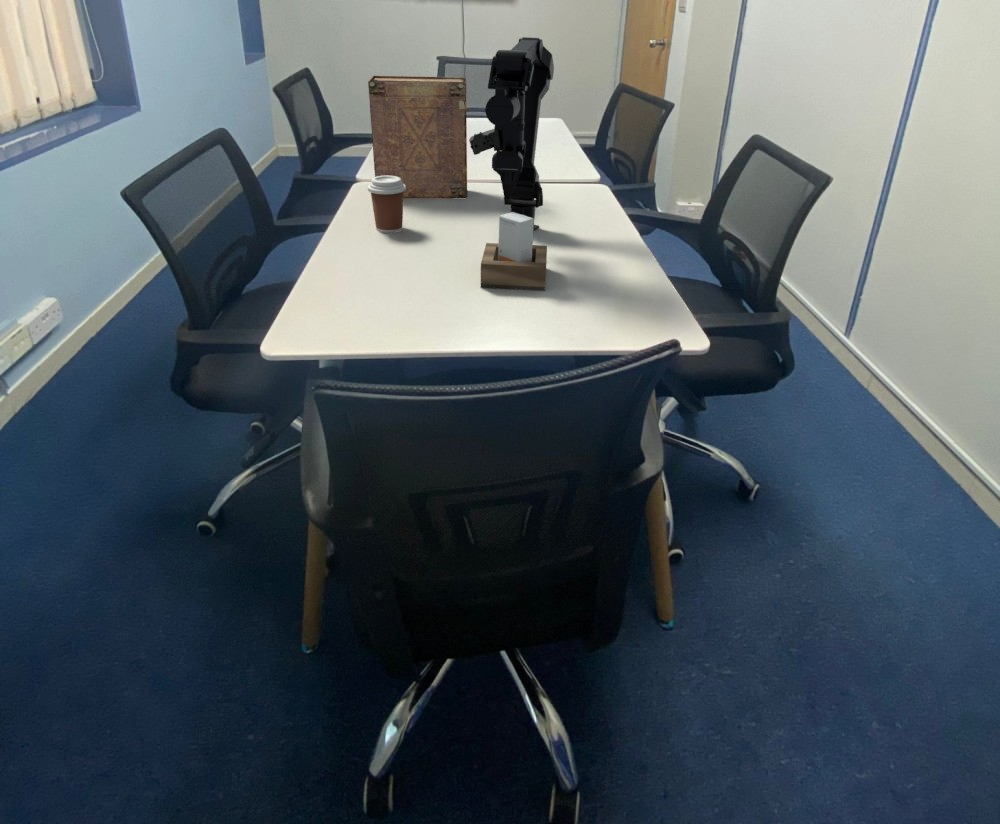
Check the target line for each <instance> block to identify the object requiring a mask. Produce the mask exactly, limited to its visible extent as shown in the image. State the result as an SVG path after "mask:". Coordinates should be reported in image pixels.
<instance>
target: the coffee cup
mask: <svg viewBox="0 0 1000 824" xmlns="http://www.w3.org/2000/svg"><path fill="white" fill-rule="evenodd" d="M370 181H371V182H370V183H369V184H368V185H367V191H368V192H369V193H370V196H371V203H372V209H373V217H374V224H375V230H376V231H377V232H380V233H384V234H385V233H386V234H390V233H397V232H401V231H402V230H403V218H404V216H403V215H404V198H403V192H404V191H405V190H406V186H405V184H403V183H402V182H401V178H399V177H397V176H388V175H386V176H377V177H375V176H374V177H372V179H371V180H370Z"/></svg>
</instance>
